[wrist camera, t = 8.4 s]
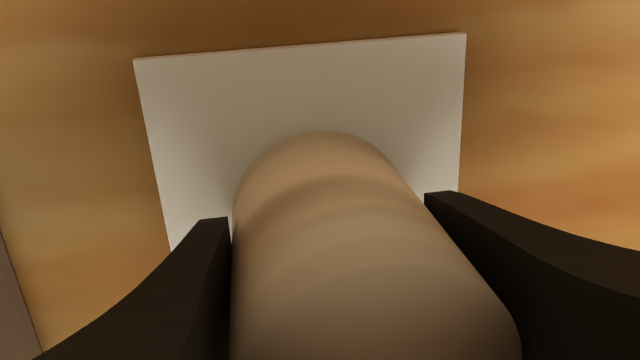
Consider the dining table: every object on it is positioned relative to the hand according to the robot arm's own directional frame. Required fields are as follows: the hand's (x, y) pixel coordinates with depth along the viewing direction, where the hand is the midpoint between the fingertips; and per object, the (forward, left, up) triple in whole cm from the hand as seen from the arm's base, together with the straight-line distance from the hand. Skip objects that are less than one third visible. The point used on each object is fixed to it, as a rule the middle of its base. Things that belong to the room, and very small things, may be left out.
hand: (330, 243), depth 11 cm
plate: (0, 0, -3) cm, 3 cm away
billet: (0, 0, -2) cm, 2 cm away
